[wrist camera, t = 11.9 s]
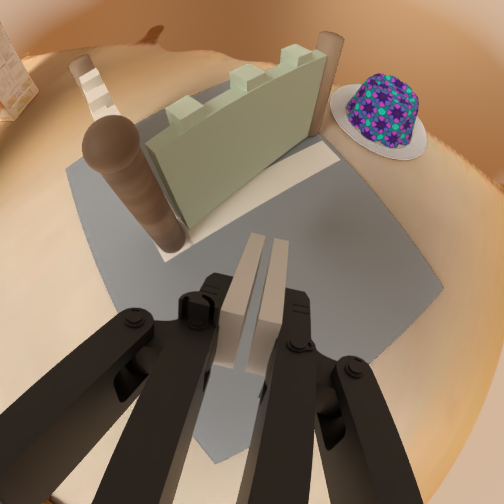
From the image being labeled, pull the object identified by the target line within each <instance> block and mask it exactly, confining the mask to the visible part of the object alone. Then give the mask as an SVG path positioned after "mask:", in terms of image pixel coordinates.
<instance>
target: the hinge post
mask: <svg viewBox="0 0 504 504" xmlns="http://www.w3.org/2000/svg"><path fill="white" fill-rule="evenodd" d="M82 152H83V156H84V159H85V161H86V163H87V164H88V165H89V166H90V167H91V168H92V169H93V170H94V171H96V172H98V173H100V174H101V175H102V177H103V178H104V179H105V180H106V182H107V183H108V184H109V186H110V187H111V188H112V190H113V191H114V192H115V194H116V195H117V196H118V197H119V199H120V200H121V201H122V202H123V204H124V205H125V206H126V207H127V209H128V210H129V211H130V212H131V214H132V215H133V216H134V217H135V219H136V220H137V221H138V222H139V224H140V225H141V226H142V227H143V228H144V230H145V231H146V232H147V233H148V234H149V236H150V237H151V238H152V239H153V240H154V242H155V243H156V244H157V245H158V246H159V248H160V249H161V250H162V251H164V252H166V253H175V252H178V251H179V250H180V249H181V248H182V247H183V246H184V244H185V240H186V237H185V233H184V231H183V230H182V228H181V226H180V224H179V222H178V220H177V218H176V216H175V215H174V213H173V211H172V209H171V207H170V205H169V203H168V201H167V199H166V197H165V195H164V193H163V191H162V189H161V188H160V186H159V184H158V182H157V180H156V178H155V176H154V174H153V172H152V170H151V168H150V166H149V164H148V162H147V160H146V157H145V155H144V153H143V151H142V149H141V147H140V136H139V133H138V130H137V128H136V126H135V125H134V124H133V123H132V122H131V121H130V120H129V119H127V118H125V117H123V116H120V115H108V116H104V117H102V118H100V119H98V120H96V121H95V122H94V123H93V124H92V125H91V126H90V127H89V128H88V130H87V131H86V133H85V136H84V138H83V143H82Z"/></svg>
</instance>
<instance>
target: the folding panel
mask: <svg viewBox="0 0 504 504" xmlns="http://www.w3.org/2000/svg"><path fill="white" fill-rule="evenodd" d="M343 43H344V38H343V37H342V36H340V35H338V34H336V33H333V32H327V31H323V32H320V33H319V36H318V42H317V47H316V50H313V51H310V50H308V49H306V48H304V47H301V46H299V45H297V44H293V45H291V46H288V47H285V48H283V49H281V57H280V64H279V65H277V66H275V67H273V68H271V69H268V70H266V71H262V70H261V69H259V68H257V67H255V66H253V65H251V64H249V63H247V64H245V65H243V66H241V67H238V68H236V69H234V70H232V71H230V89H229V90H227V91H226V92H224V93H222V94H220V95H218V96H217V97H215V98H213V99H211V100H210V101H208V102H206V103H205V104H203V105H202V104H201V103H199V102H198V101H196V100H195V99H193V98H192V97H190V96H189V95H186V96H184V97H182V98H181V99H179V100H178V101H176V102H174V103H173V104H171V105H169V106H168V107H166V108H165V110H166V114H167V117H168V120H169V123H170V126H169V127H167V128H166V129H164V130H163V131H161V132H160V133H159V134H157V135H156V136H154V137H153V138H151V139H150V140H149V141H147V142H146V143H145V146H146V148H147V150H148V152H149V154H150V157H151V159H152V161H153V163H154V165H155V167H156V169H157V172H158V174H159V176H160V178H161V180H162V182H163V184H164V186H165V188H166V190H167V192H168V194H169V197H170V199H171V201H172V203H173V205H174V207H175V209H176V211H177V213H178V215H179V217H180V219H181V221H182V222H183V223H184V224H185V225H186V226H187V227H188V228H189V229H191V228H192V227H193V226H195V225H196V224H197V223H198V222H199V221H200V220H202V219H203V218H204V217H205V216H206V215H208V214H209V213H210V212H211V211H212V210H214V209H215V208H216V207H217V206H218V205H220V204H221V203H222V202H223V201H225V200H226V199H227V198H228V197H229V196H231V195H232V194H233V193H234V192H236V191H237V190H238V189H239V188H241V187H242V186H243V185H244V184H246V183H247V182H248V181H249V180H251V179H252V178H253V177H255V176H256V175H257V174H258V173H260V172H261V171H262V170H263V169H265V168H266V167H267V166H269V165H270V164H271V163H273V162H274V161H275V160H277V159H278V158H279V157H281V156H282V155H283V154H284V153H286V152H287V151H289V150H290V149H291V148H293V147H294V146H295V145H297V144H298V143H299V142H301V141H302V140H303V139H305V138H306V137H307V136H315V135H317V134H318V132H319V129H320V125H321V122H322V119H323V115H324V112H325V108H326V105H327V101H328V98H329V94H330V91H331V87H332V84H333V80H334V77H335V73H336V69H337V66H338V62H339V58H340V55H341V51H342V47H343Z"/></svg>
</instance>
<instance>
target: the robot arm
mask: <svg viewBox="0 0 504 504" xmlns="http://www.w3.org/2000/svg"><path fill="white" fill-rule="evenodd" d="M264 241H265V236H264V235H260V234H255V233H251V235H250V237H249V240H248V242H247V245H246V247H245V250H244V252H243V255H242V257H241V260H240V262H239V265H238V267H237V270H236V272H235V275H234V277H233V276H229V275H224V274H220V273H216V272H214V273H212V274H211V275H209V276H208V277H206V279H205V281H204V283H203V285H202V286H201V288H200V291H193V292H187V293H185V294H183V295H182V296H181V297H180V298H179V300H178V319H176V320H171V321H162V320H154V318H153V316H152V314H151V313H150V312H148V311H147V310H145V309H142V308H135V307H132V308H128V309H125V310H123V311H121V312H120V313H118V314H117V315H116V316H115V317H113V318H112V319H111V320H110V321H109V322H107V323H106V324H105V325H104V326H102V327H101V328H100V329H99V330H97V331H96V332H95V333H94V334H93V335H91V336H90V337H89V338H88V339H87V340H85V341H84V342H83V343H82V344H80V345H79V346H78V347H77V348H76V349H75V350H73V351H72V352H71V353H70V354H69V355H67V356H66V357H65V358H64V359H63V360H61V361H60V362H59V363H58V364H57V365H56V366H54V367H53V368H52V369H51V370H50V371H49V372H47V373H46V374H45V375H44V376H43V377H42V378H41V379H39V380H38V381H37V382H36V383H35V384H34V385H33V386H31V387H30V388H29V389H28V390H27V391H26V392H25V393H24V394H22V395H21V396H20V397H19V398H18V399H17V400H16V401H15V402H14V403H13V404H11V405H10V406H9V407H8V408H7V409H6V410H5V411H4V412H3V413H2V414H1V415H0V504H43V503H44V502H45V501H46V500H47V499H48V497H49V496H50V495H51V494H52V493H53V492H54V491H55V490H56V489H57V487H58V486H59V485H60V484H61V483H62V482H63V481H64V480H65V478H66V477H67V476H68V475H69V474H70V473H71V472H72V471H73V470H74V468H75V467H76V466H77V465H78V464H79V463H80V462H81V461H82V459H83V458H84V457H85V456H86V455H87V454H88V453H89V452H90V450H91V449H92V448H93V447H94V446H95V445H96V444H97V442H98V441H99V440H100V439H101V438H102V437H103V436H104V435H105V433H106V432H107V431H108V430H109V429H110V428H111V427H112V425H113V424H114V423H115V422H116V421H117V420H118V419H119V418H120V416H121V415H122V414H123V413H124V412H125V411H126V410H127V408H128V407H129V406H130V405H131V404H132V403H133V402H134V400H135V399H136V398H137V397H138V396H139V395H140V396H139V398H138V400H137V402H136V404H135V406H134V409H133V411H132V413H131V415H130V417H129V419H128V422H127V424H126V426H125V428H124V430H123V432H122V435H121V437H120V439H119V441H118V444H117V446H116V448H115V450H114V453H113V455H112V457H111V459H110V462H109V464H108V466H107V469H106V471H105V473H104V476H103V478H102V480H101V483H100V485H99V488H98V490H97V492H96V495H95V497H94V500H93V502H92V504H172V503H173V500H174V496H175V493H176V489H177V486H178V482H179V479H180V476H181V472H182V469H183V465H184V462H185V459H186V455H187V452H188V448H189V445H190V442H191V438H192V435H193V432H194V428H195V425H196V421H197V418H198V415H199V411H200V408H201V405H202V401H203V398H204V395H205V391H206V388H207V384H208V381H209V378H210V374H211V366H212V363H213V360H214V363H213V364H215V365H219V366H223V367H227V368H232V369H233V366H234V363H235V359H236V355H237V351H238V348H239V344H240V340H241V336H242V333H243V329H244V325H245V321H246V317H247V313H248V310H249V306H250V302H251V298H252V294H253V290H254V287H255V283H256V279H257V274H258V269H259V265H260V260H261V255H262V251H263V246H264ZM288 246H289V241H287V240H282V239H278V238H274V242H273V247H272V251H271V255H270V260H269V264H268V268H267V273H266V277H265V281H264V286H263V291H262V296H261V300H260V305H259V310H258V315H257V319H256V324H255V328H254V333H253V338H252V342H251V347H250V351H249V356H248V360H247V365H246V369H245V372H249V373H254V374H258V375H263V376H265V373H266V376H265V380H264V383H263V386H262V389H261V391H260V394H259V397H258V398H260V400H259V405H258V410H257V415H256V419H255V424H254V429H253V433H252V438H251V443H250V447H249V452H248V456H247V460H246V465H245V469H244V473H243V477H242V482H241V486H240V490H239V494H238V498H237V502H236V504H308V501H309V491H310V481H311V470H312V458H313V444H314V429H315V433H316V438H317V442H318V447H319V451H320V456H321V460H322V465H323V470H324V474H325V479H326V484H327V488H328V493H329V498H330V503H331V504H423V501H422V498H421V495H420V491H419V488H418V485H417V483H416V480H415V477H414V474H413V471H412V468H411V465H410V463H409V460H408V457H407V454H406V452H405V449H404V446H403V444H402V441H401V439H400V436H399V433H398V431H397V428H396V426H395V423H394V421H393V418H392V416H391V413H390V411H389V409H388V406H387V404H386V401H385V399H384V397H383V394H382V392H381V390H380V387H379V385H378V383H377V380H376V378H375V376H374V374H373V371H372V369H371V367H370V366H369V365H368V363H367V362H365V361H364V360H363V359H361V358H359V357H357V356H351V355H348V356H343V357H341V358H340V359H339V360H338V361H336V360H333V359H331V358H329V357H326V356H325V355H323V354H321V353H320V352H319V351H317V349H316V346H315V343H314V342H313V341H312V339H311V315H310V314H311V313H310V299H309V297H308V296H307V294H306V292H304V291H299V290H295V289H290V288H285V285H286V273H287V260H288ZM140 393H141V394H140Z"/></svg>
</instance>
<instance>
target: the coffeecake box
mask: <svg viewBox="0 0 504 504" xmlns="http://www.w3.org/2000/svg"><path fill="white" fill-rule="evenodd" d="M38 92H39V90H38V88H37V87H36V85H35V83H34V82H33V80H32V79H31V77H30V75H29V74H28V72H27V70H26V69H25V67H24V65H23V64H22V62H21V60H20V58H19V57H18V55H17V53H16V52H15V50H14V48H13V46H12V44H11V42H10V40H9V38H8V37H7V35H6V33H5V31H4V29H3V27H2V25H1V23H0V121H15V120H16V119H17V118H18V117H19V115H20V114H21V113H22V112H23V110H24V109H25V108H26V106H27V105H28V104H29V103H30V102H31V100H32V99H33V98H34V97H35V96H36V95H37V94H38Z"/></svg>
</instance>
